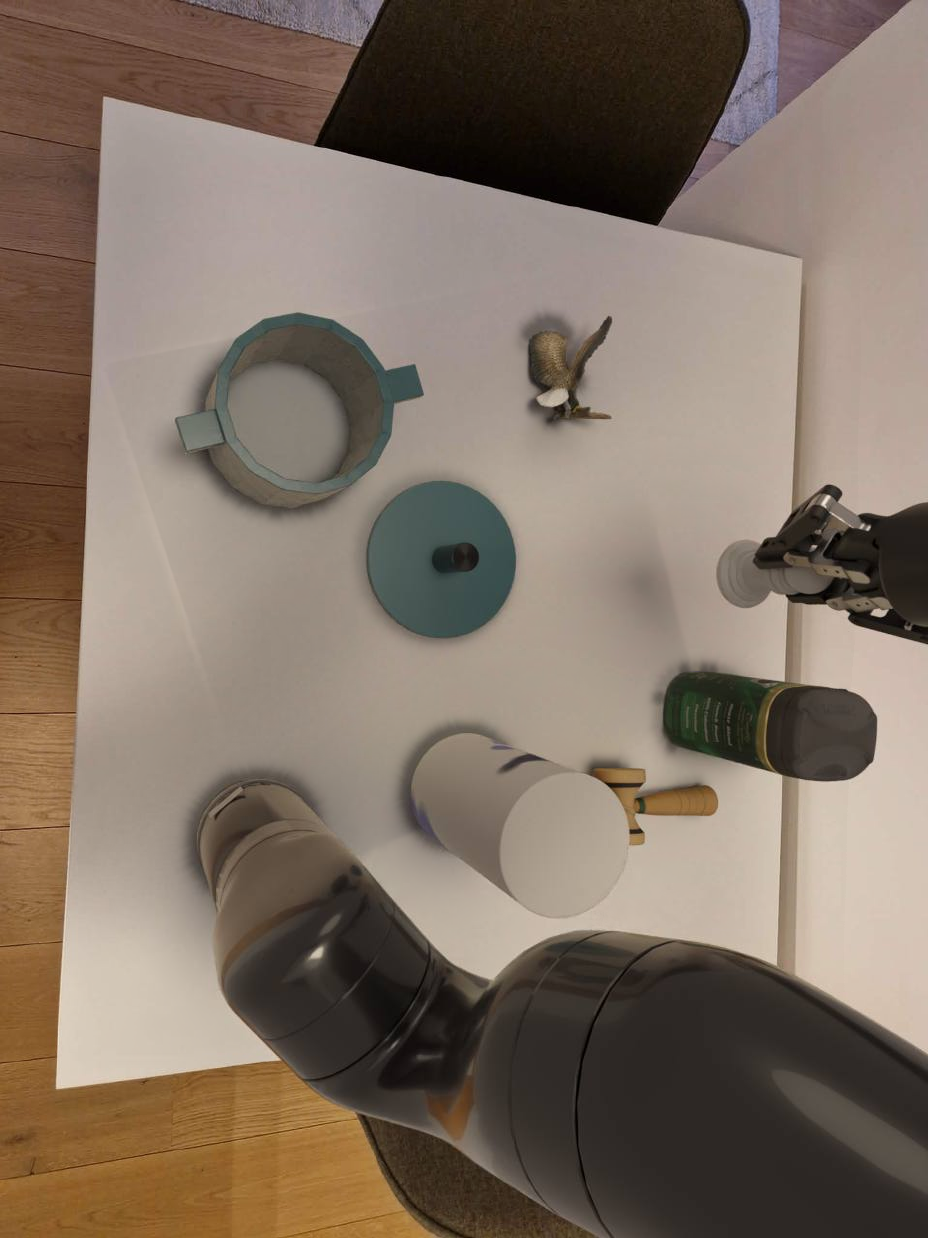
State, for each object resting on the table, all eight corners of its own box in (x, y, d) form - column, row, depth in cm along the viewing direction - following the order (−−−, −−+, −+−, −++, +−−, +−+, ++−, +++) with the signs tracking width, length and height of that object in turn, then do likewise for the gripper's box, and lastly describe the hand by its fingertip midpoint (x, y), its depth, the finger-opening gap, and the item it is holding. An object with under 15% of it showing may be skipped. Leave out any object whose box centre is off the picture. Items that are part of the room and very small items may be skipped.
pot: (404, 477, 76) (446, 459, 66) (198, 534, 70) (210, 523, 60) (362, 332, 75) (398, 292, 65) (147, 377, 69) (151, 340, 59)
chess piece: (703, 588, 68) (786, 586, 60) (730, 527, 69) (816, 517, 60) (752, 620, 70) (840, 622, 61) (777, 560, 71) (867, 555, 62)
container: (518, 734, 81) (637, 775, 62) (508, 844, 80) (624, 917, 62) (414, 729, 77) (508, 771, 58) (403, 844, 77) (494, 922, 58)
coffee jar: (656, 749, 86) (791, 787, 69) (662, 668, 86) (798, 686, 69) (737, 751, 90) (885, 787, 72) (743, 673, 90) (892, 691, 72)
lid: (527, 610, 81) (559, 611, 75) (391, 658, 76) (413, 662, 70) (487, 465, 79) (516, 455, 73) (345, 505, 74) (363, 497, 69)
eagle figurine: (613, 419, 82) (616, 318, 80) (610, 419, 75) (613, 308, 73) (531, 419, 84) (533, 320, 82) (521, 420, 77) (522, 311, 75)
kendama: (689, 748, 89) (541, 757, 80) (736, 771, 84) (582, 782, 75) (677, 821, 90) (529, 837, 81) (721, 847, 85) (569, 867, 76)
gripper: (886, 530, 46) (688, 549, 62) (1030, 690, 51) (810, 670, 67) (952, 425, 48) (743, 470, 64) (1086, 589, 52) (858, 592, 68)
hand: (778, 572), depth 65 cm, fingers closed on chess piece, 3 cm apart
